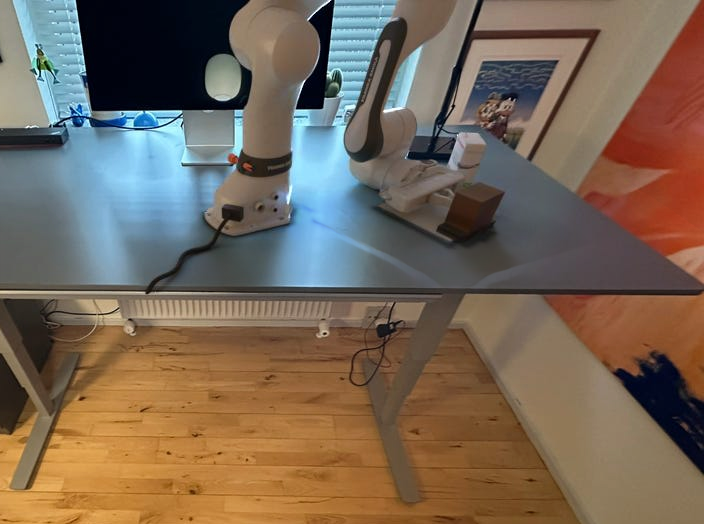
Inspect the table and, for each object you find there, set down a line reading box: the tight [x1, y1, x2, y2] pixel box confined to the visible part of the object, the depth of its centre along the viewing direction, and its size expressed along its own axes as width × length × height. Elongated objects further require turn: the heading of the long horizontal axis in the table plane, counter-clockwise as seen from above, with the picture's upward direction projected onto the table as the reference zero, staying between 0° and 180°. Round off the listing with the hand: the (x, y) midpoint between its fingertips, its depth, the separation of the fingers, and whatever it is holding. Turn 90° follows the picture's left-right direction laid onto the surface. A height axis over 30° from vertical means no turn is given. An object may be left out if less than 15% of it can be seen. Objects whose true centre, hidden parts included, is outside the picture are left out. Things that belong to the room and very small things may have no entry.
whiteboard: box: [376, 200, 454, 243], centre depth 98 cm, size 14×21×1 cm, turn 33°
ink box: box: [446, 131, 488, 190], centre depth 104 cm, size 9×5×12 cm, turn 171°
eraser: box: [436, 181, 506, 244], centre depth 89 cm, size 12×6×8 cm, turn 123°
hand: (455, 202), depth 91 cm, fingers closed
